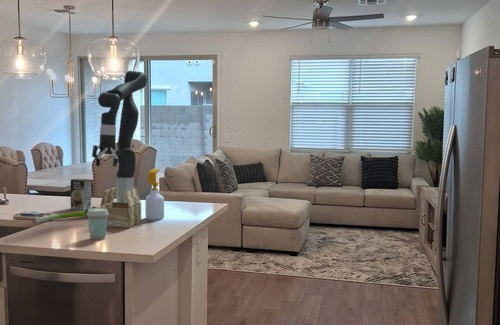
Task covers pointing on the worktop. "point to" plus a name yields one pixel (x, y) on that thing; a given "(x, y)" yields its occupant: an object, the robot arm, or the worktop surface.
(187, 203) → the worktop surface
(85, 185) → the coffee box
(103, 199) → the flap
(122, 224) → the wooden box
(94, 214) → the coffee cup
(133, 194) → the flap
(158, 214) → the soap bottle
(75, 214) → the celery stalk
